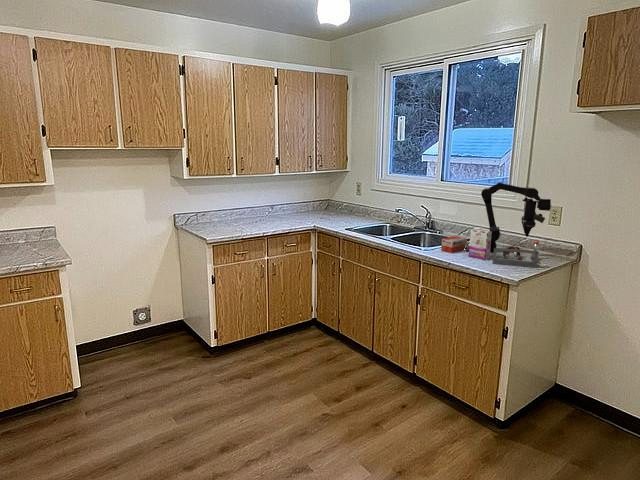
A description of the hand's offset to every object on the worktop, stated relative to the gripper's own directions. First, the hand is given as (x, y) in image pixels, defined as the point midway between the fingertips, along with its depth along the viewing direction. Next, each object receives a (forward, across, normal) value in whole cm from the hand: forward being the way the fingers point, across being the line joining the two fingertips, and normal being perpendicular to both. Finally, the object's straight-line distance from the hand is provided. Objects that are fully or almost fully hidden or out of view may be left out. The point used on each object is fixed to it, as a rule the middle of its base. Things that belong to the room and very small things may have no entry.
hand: (526, 235), depth 253 cm
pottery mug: (+13, -11, +6) cm, 18 cm away
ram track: (+12, -12, -5) cm, 18 cm away
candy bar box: (+13, -18, +25) cm, 34 cm away
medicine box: (+14, -5, +40) cm, 43 cm away
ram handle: (+12, -9, -5) cm, 16 cm away
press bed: (+12, -26, +7) cm, 30 cm away
